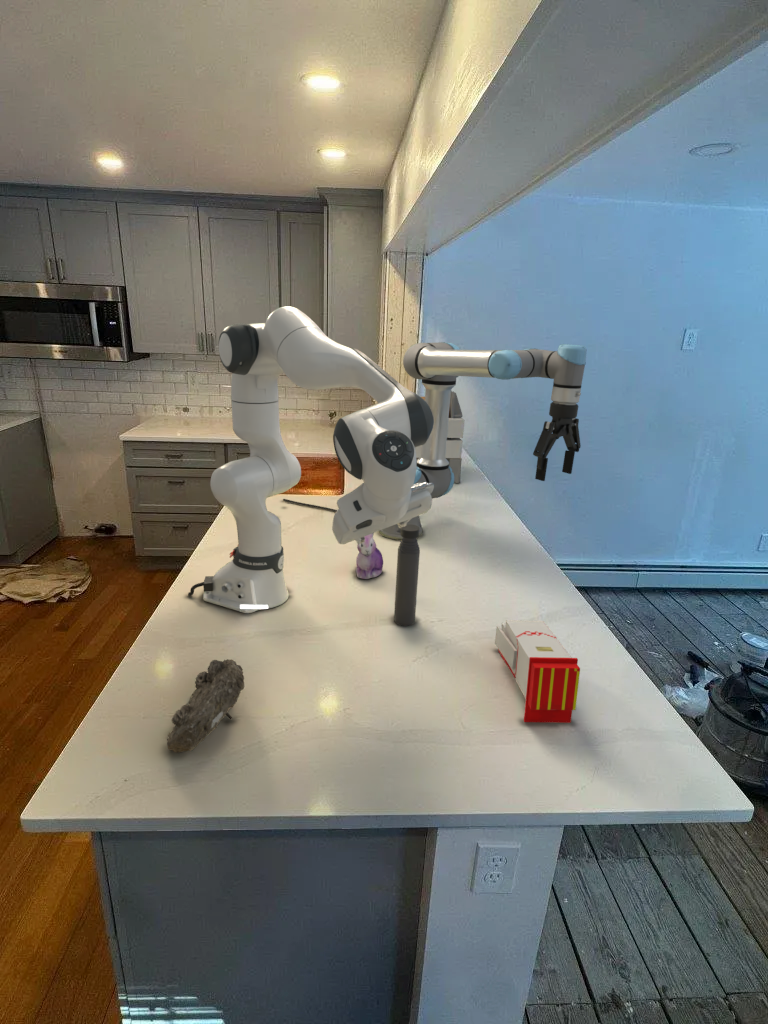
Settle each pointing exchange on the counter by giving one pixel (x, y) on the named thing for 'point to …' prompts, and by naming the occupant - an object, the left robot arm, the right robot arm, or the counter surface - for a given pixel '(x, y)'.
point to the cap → (410, 531)
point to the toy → (540, 670)
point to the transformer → (452, 437)
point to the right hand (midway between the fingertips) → (553, 476)
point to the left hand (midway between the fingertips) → (380, 532)
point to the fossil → (206, 705)
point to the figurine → (368, 559)
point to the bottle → (406, 582)
